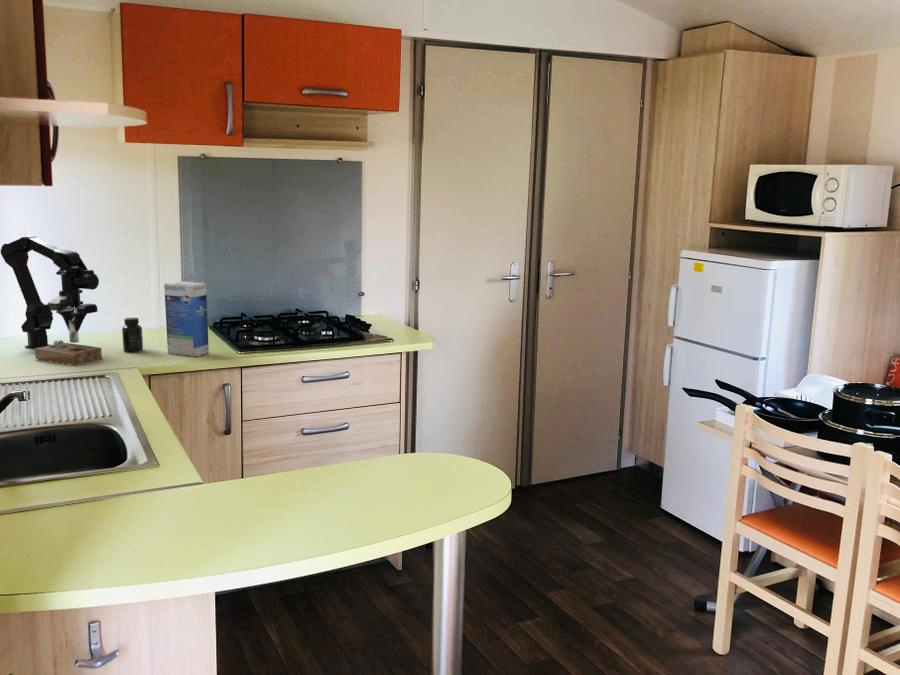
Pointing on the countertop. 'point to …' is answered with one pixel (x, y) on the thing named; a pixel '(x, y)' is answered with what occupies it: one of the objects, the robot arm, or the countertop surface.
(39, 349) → the hole block
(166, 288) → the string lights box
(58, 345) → the short grey peg
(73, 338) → the steel pin
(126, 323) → the supplement bottle
